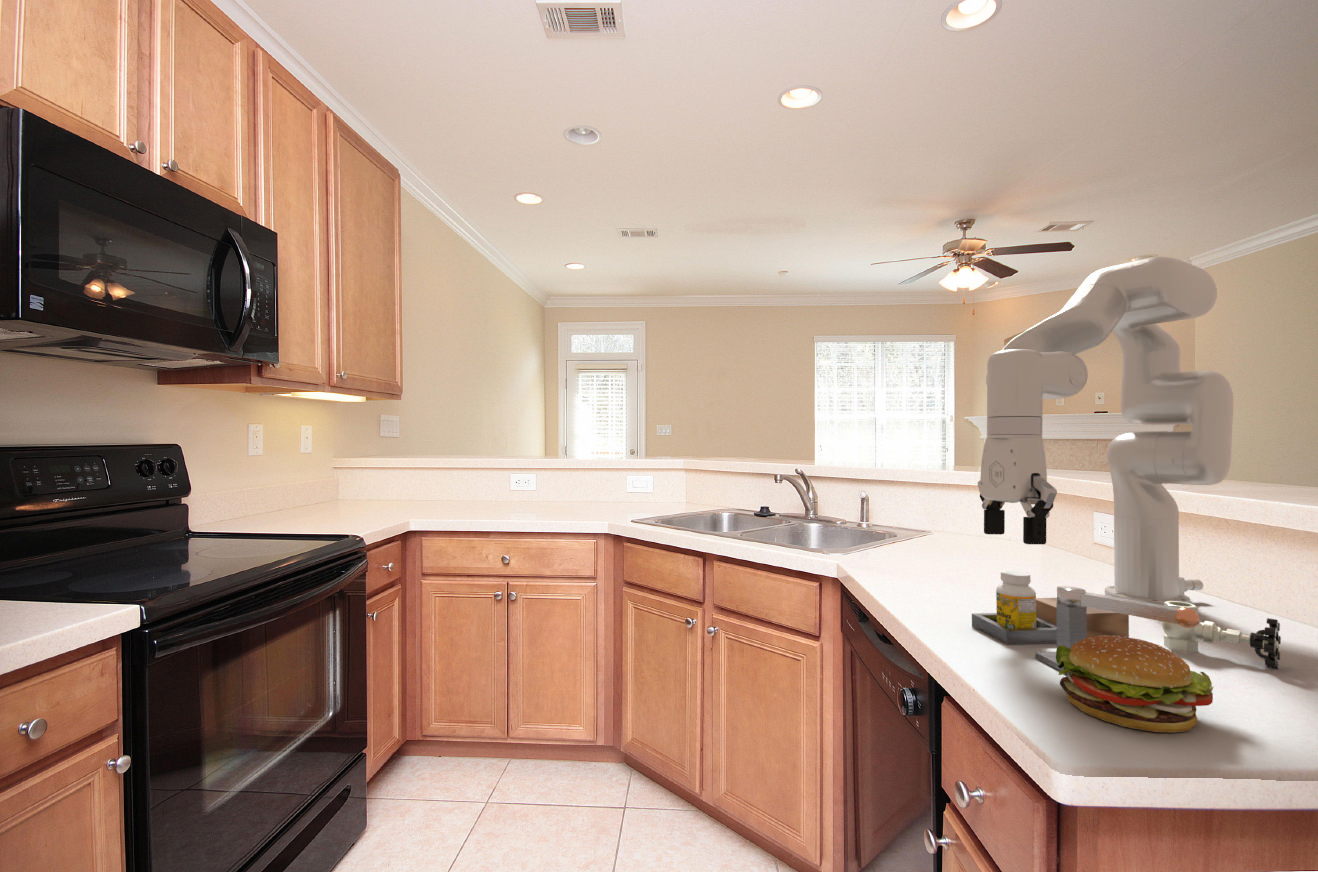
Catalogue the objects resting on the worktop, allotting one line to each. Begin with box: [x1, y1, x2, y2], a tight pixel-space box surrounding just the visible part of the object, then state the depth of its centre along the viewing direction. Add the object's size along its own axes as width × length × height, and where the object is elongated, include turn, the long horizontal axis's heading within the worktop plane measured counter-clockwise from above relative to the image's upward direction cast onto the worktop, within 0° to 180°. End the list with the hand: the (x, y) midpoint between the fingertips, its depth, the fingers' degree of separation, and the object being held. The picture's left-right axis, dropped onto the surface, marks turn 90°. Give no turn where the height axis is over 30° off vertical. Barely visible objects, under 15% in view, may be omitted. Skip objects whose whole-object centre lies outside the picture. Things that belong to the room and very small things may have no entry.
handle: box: [1056, 585, 1201, 628], centre depth 77 cm, size 15×3×2 cm, turn 36°
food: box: [1055, 635, 1214, 733], centre depth 68 cm, size 14×14×8 cm
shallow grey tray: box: [971, 612, 1057, 646], centre depth 95 cm, size 9×9×2 cm
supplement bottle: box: [995, 569, 1037, 629], centre depth 95 cm, size 5×5×10 cm
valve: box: [1161, 601, 1282, 670], centre depth 85 cm, size 7×7×12 cm
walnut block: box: [1036, 597, 1130, 638], centre depth 96 cm, size 9×9×4 cm
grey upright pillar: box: [1034, 602, 1087, 676], centre depth 82 cm, size 6×6×8 cm
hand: (1013, 538), depth 94 cm, fingers open, 9 cm apart
